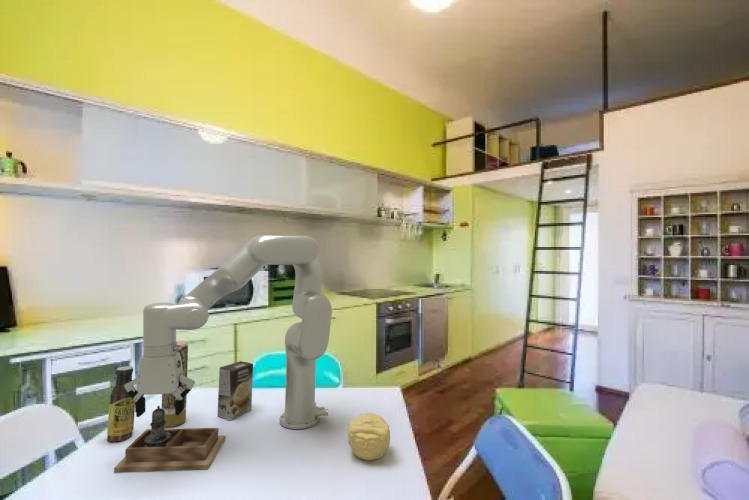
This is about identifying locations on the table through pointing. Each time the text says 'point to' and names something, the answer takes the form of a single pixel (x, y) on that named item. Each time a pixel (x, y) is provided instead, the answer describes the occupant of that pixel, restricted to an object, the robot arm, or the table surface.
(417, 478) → the table surface
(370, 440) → the sculpture
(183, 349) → the paper tube
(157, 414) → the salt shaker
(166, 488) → the table surface
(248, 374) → the coffee box
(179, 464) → the condiment rack
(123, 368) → the sauce bottle
